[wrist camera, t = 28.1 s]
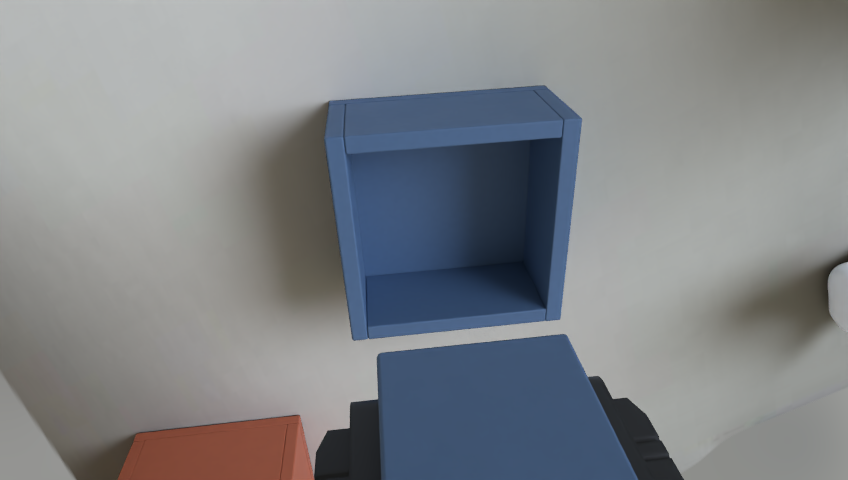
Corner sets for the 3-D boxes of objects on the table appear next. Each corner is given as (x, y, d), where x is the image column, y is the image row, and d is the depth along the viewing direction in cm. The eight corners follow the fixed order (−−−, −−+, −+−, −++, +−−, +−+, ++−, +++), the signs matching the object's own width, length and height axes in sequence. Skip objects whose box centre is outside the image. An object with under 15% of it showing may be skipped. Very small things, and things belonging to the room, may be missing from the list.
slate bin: (352, 281, 28) (352, 341, 24) (328, 100, 23) (323, 138, 19) (532, 264, 29) (560, 319, 25) (545, 85, 24) (582, 118, 20)
